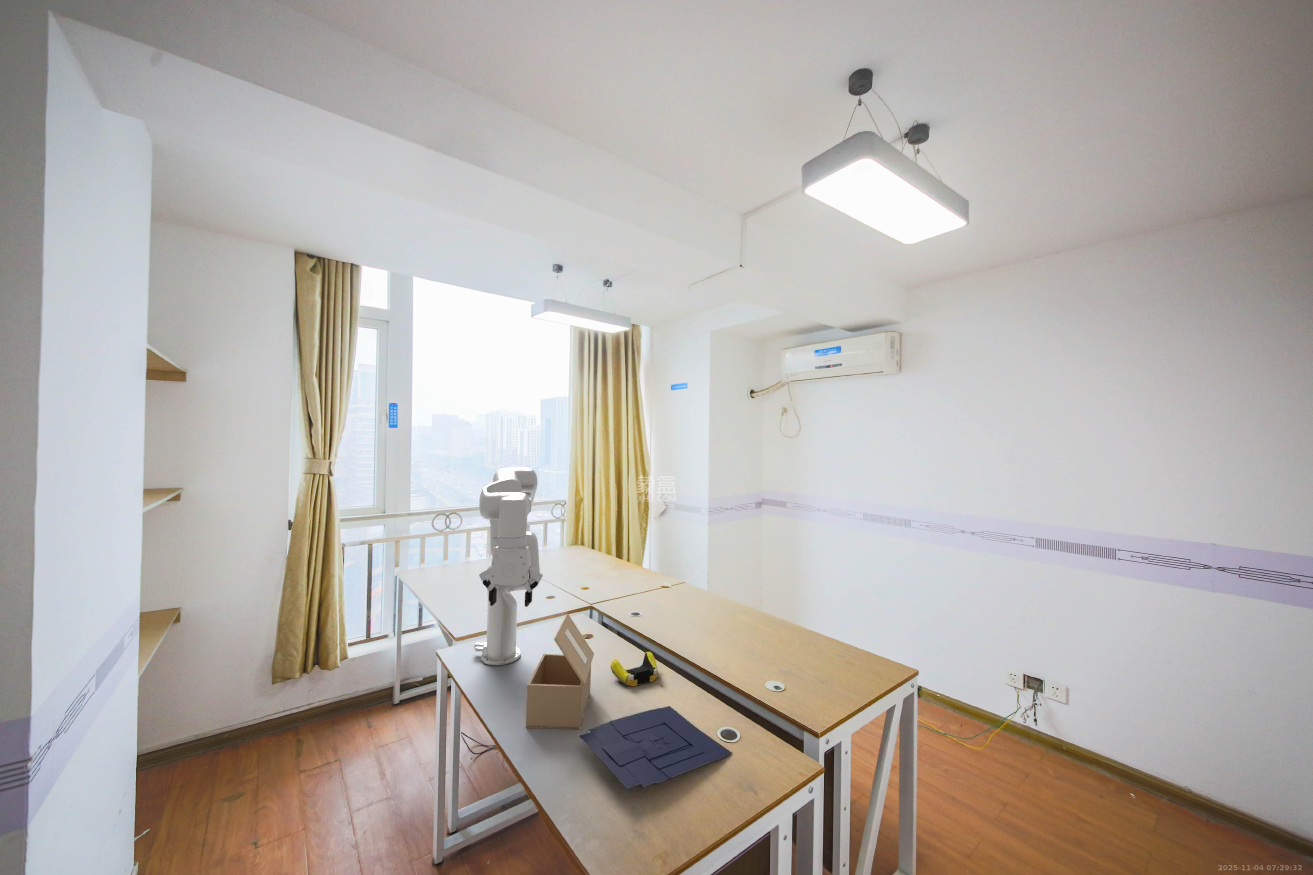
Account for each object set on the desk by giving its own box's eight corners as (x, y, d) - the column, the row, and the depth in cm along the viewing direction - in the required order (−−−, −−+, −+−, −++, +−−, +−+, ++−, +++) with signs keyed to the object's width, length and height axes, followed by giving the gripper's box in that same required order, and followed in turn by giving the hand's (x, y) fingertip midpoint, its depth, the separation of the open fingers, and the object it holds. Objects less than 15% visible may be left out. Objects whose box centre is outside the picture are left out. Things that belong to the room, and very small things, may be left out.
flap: (553, 639, 119) (555, 637, 119) (566, 614, 136) (568, 613, 136) (583, 684, 119) (585, 683, 119) (592, 654, 136) (594, 653, 136)
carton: (525, 727, 119) (527, 684, 119) (542, 691, 136) (543, 653, 136) (580, 729, 119) (581, 686, 119) (590, 692, 136) (591, 655, 136)
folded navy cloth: (572, 743, 112) (575, 727, 112) (667, 715, 130) (669, 701, 130) (630, 808, 93) (633, 789, 93) (732, 765, 111) (733, 749, 111)
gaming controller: (608, 675, 146) (621, 691, 137) (608, 658, 146) (622, 673, 137) (650, 665, 153) (665, 680, 145) (650, 649, 153) (665, 662, 145)
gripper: (475, 544, 124) (473, 608, 124) (540, 546, 124) (538, 610, 124) (485, 538, 131) (483, 598, 131) (546, 539, 131) (545, 600, 131)
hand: (510, 604), depth 127 cm, fingers open, 9 cm apart
